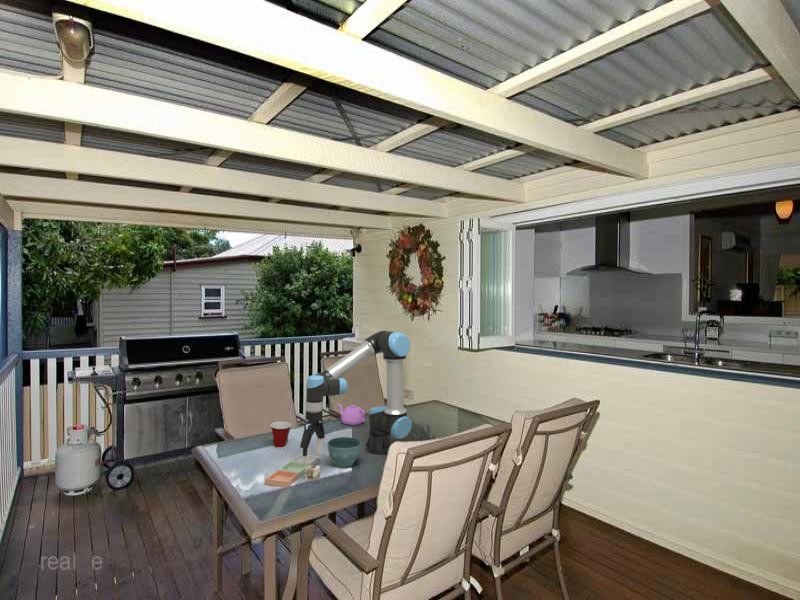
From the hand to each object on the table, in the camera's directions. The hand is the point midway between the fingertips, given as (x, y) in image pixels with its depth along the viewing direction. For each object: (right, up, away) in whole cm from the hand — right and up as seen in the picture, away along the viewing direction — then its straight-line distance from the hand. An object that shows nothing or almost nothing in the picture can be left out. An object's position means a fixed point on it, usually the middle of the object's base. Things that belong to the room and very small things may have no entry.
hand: (312, 457), depth 204 cm
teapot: (+8, -9, +88) cm, 89 cm away
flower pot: (+12, -10, +18) cm, 24 cm away
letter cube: (0, -10, 0) cm, 10 cm away
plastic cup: (-25, -8, +41) cm, 49 cm away
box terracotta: (-13, -9, -4) cm, 16 cm away
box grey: (-7, -9, +17) cm, 21 cm away
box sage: (-10, -9, +6) cm, 15 cm away
